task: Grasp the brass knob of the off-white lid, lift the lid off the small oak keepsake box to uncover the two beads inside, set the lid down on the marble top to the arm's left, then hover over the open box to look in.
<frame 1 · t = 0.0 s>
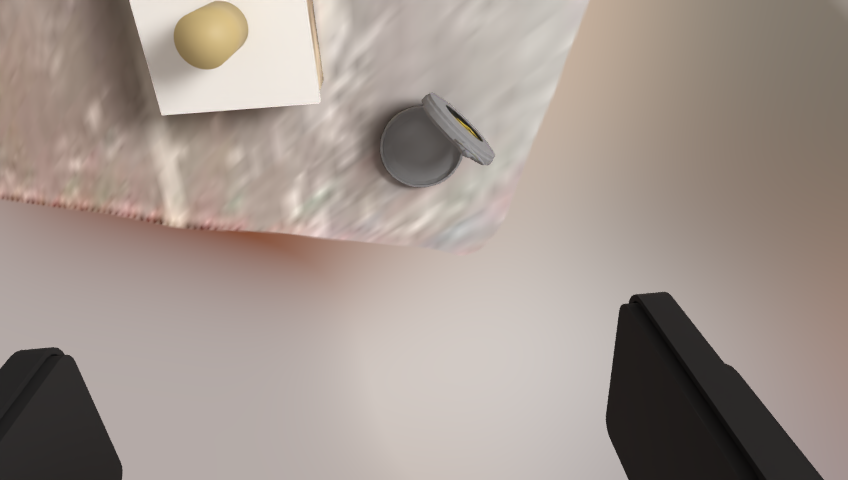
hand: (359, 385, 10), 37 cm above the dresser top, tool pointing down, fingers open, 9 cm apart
pocket watch: (432, 134, 47), on the dresser top
keepsake box: (242, 13, 41), on the dresser top
lid: (226, 24, 37), point 5 cm above the dresser top, touching keepsake box
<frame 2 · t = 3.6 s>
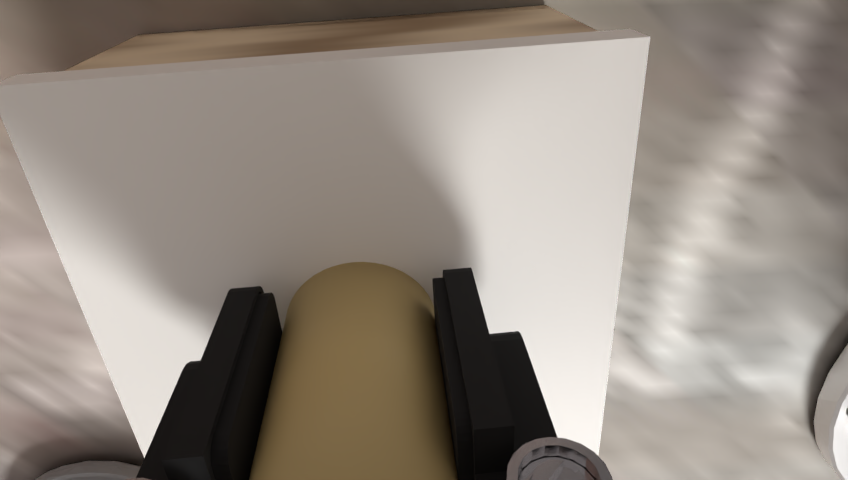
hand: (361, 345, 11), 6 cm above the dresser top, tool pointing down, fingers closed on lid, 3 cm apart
keepsake box: (366, 203, 17), on the dresser top
lid: (362, 303, 12), point 5 cm above the dresser top, touching gripper, keepsake box
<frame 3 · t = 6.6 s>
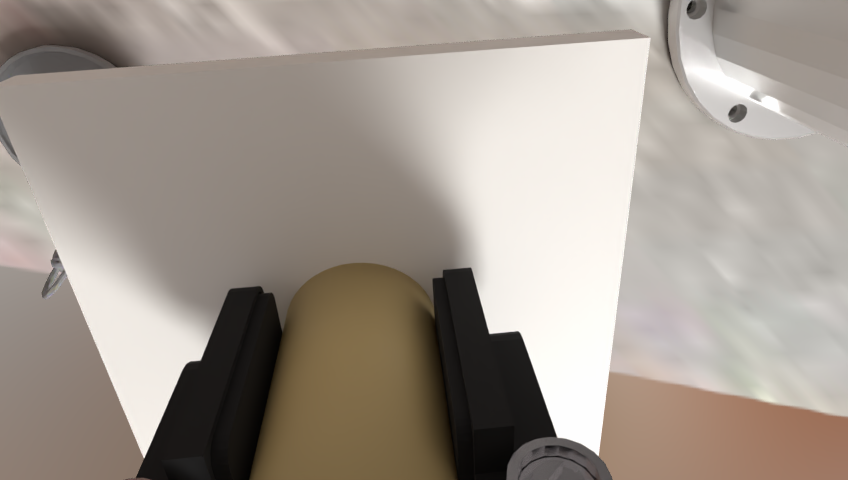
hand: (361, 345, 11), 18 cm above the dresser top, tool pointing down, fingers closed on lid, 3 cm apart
pocket watch: (105, 135, 27), on the dresser top
lid: (362, 303, 12), point 16 cm above the dresser top, touching gripper
when the fingers open (3 cm above the dresser top, at t = 9.7 s): lid drops 2 cm, on the dresser top.
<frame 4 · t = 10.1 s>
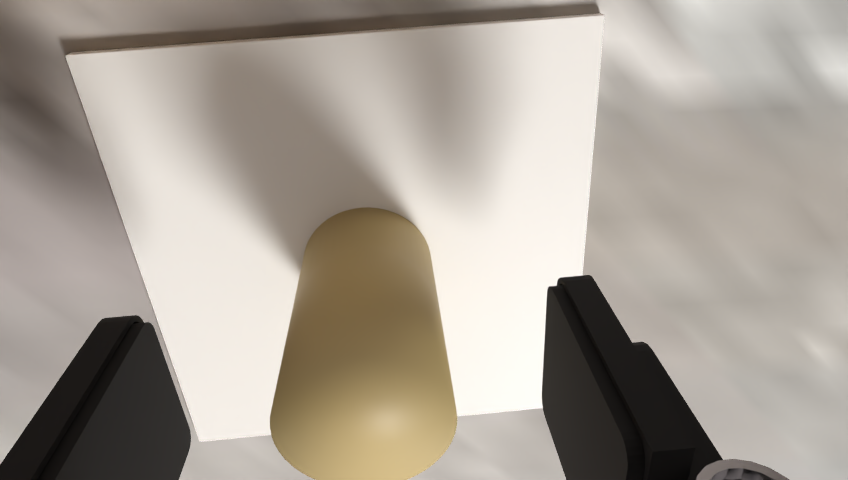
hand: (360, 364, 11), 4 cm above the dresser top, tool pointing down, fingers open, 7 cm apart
lid: (368, 248, 14), on the dresser top
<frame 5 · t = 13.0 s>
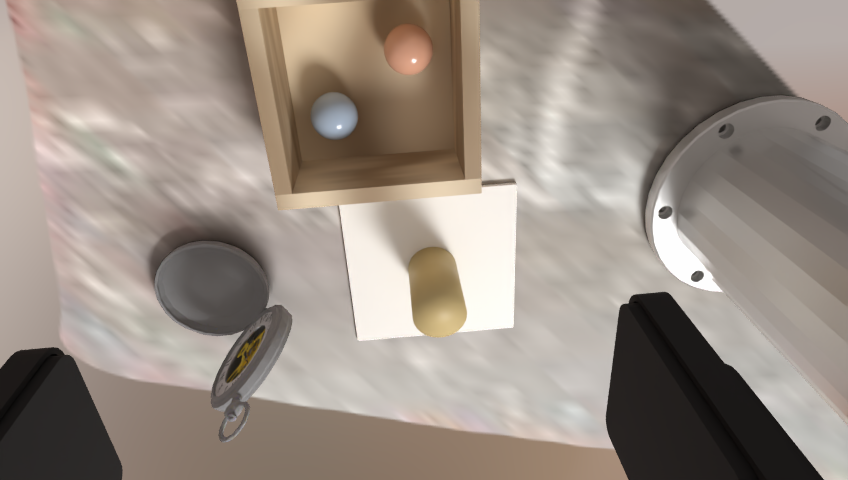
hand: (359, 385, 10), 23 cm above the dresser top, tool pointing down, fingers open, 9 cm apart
pocket watch: (231, 293, 37), on the dresser top
bead slate: (335, 109, 31), point 1 cm above the dresser top, touching keepsake box
keepsake box: (370, 75, 31), on the dresser top
lid: (431, 261, 37), on the dresser top
bead terracotta: (407, 45, 29), point 1 cm above the dresser top, touching keepsake box
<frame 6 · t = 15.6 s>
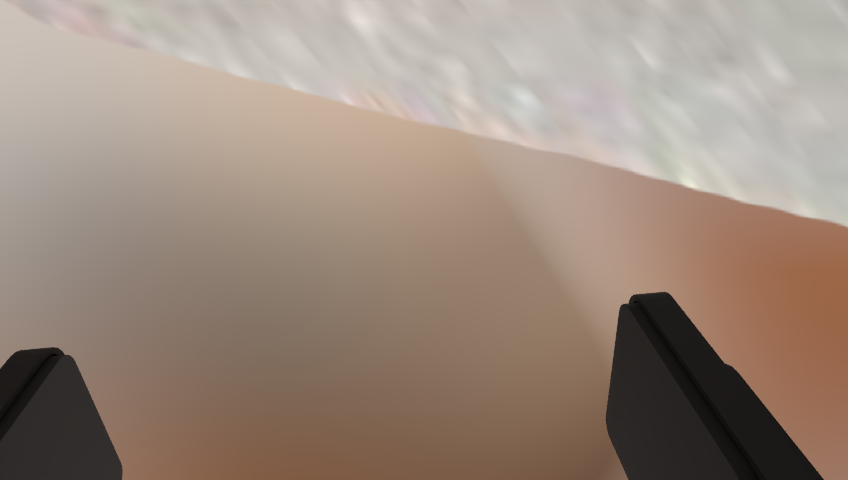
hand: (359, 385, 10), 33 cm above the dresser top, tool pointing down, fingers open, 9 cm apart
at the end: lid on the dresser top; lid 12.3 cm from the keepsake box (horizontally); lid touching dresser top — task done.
